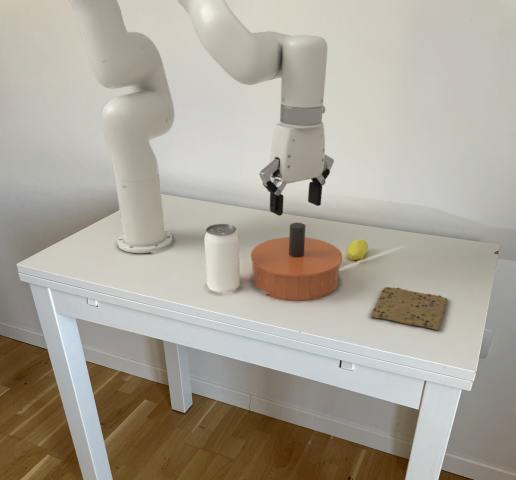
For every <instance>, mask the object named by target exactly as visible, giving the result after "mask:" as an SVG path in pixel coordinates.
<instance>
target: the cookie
mask: <svg viewBox="0 0 516 480" xmlns="http://www.w3.org/2000/svg"><path fill="white" fill-rule="evenodd" d="M447 303H448V297H443V296H442V295H436V294H431V293H424V292H417V291H413V290H412V291H411V290H407V289H403V288H400V287H390V286H385V287H384V288H383V290H381V293H380V296H379V298H378V299H377V302H376V304H375V307H374V308H373V309H372V312H371V318H373V319H384V320H388V321H393V322H397V323H401V324H405V325H410V326H418V327H423V328H427V329H432V330H434V331H440V329H441V325H442V322H443V318H444V314H445V311H446V306H447Z"/></svg>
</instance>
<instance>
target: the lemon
mask: <svg viewBox="0 0 516 480" xmlns="http://www.w3.org/2000/svg"><path fill="white" fill-rule="evenodd" d="M368 249H369V245H368V242H367V240H365V239H363V238H361V239H360V238H358V239H356V240H353V241H352V242H351V243H350V244H349V246H348V248H347V250H346V254H347V257H348V258H349V260H351V261H358V260H363V259H364V257H365V255H366V254H367V253H368Z"/></svg>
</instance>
